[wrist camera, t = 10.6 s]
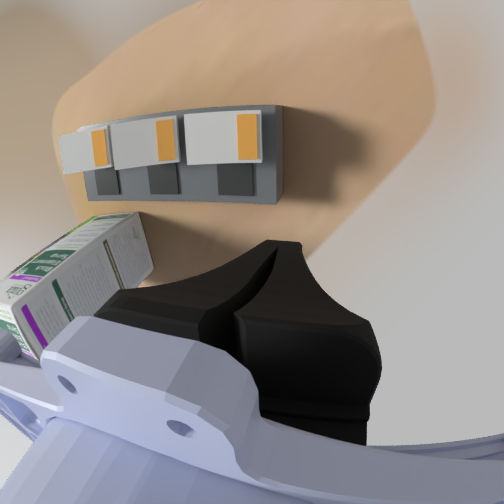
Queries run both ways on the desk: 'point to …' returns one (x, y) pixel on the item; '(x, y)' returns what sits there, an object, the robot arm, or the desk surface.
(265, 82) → the desk surface
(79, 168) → the rocker
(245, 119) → the rocker
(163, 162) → the block
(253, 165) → the rocker switch panel
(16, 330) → the syrup box
